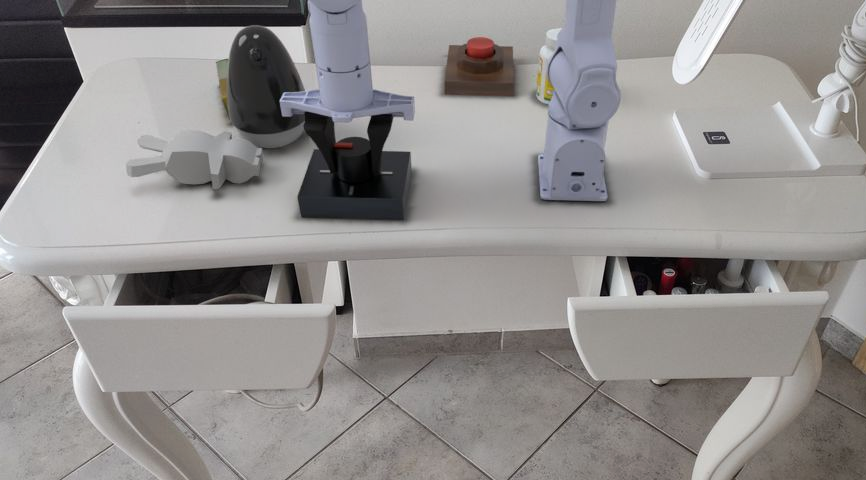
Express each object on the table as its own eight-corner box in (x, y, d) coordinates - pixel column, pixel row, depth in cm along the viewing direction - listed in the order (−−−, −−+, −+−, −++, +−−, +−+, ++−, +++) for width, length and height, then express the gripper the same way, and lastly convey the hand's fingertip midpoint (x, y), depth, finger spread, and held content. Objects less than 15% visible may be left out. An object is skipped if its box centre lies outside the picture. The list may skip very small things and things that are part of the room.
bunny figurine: (253, 167, 83) (117, 158, 81) (256, 202, 87) (126, 195, 85) (264, 125, 90) (139, 116, 88) (266, 159, 94) (146, 151, 92)
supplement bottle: (528, 96, 105) (532, 32, 98) (554, 85, 107) (560, 22, 101) (553, 110, 102) (560, 45, 95) (580, 99, 104) (588, 35, 98)
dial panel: (403, 220, 83) (402, 198, 81) (300, 217, 83) (296, 195, 81) (411, 171, 90) (410, 150, 88) (317, 169, 90) (313, 147, 88)
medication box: (223, 85, 106) (214, 60, 104) (241, 81, 107) (233, 56, 104) (230, 123, 98) (221, 97, 95) (250, 119, 98) (241, 92, 95)
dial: (377, 163, 86) (374, 134, 83) (371, 184, 83) (368, 155, 80) (341, 161, 86) (337, 133, 83) (334, 182, 83) (330, 154, 80)
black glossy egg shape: (234, 163, 91) (206, 49, 81) (236, 122, 98) (210, 13, 88) (315, 155, 93) (297, 42, 82) (311, 115, 100) (294, 7, 90)
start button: (493, 60, 105) (493, 49, 104) (466, 59, 105) (466, 48, 104) (493, 48, 108) (494, 37, 107) (467, 47, 108) (467, 36, 107)
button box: (513, 96, 104) (514, 71, 102) (444, 94, 105) (444, 69, 102) (512, 59, 113) (513, 35, 111) (449, 58, 113) (448, 33, 111)
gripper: (264, 76, 72) (286, 186, 81) (407, 80, 72) (413, 191, 81) (281, 45, 77) (300, 153, 87) (414, 49, 77) (419, 157, 86)
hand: (355, 169), depth 84 cm, fingers closed on dial, 4 cm apart
